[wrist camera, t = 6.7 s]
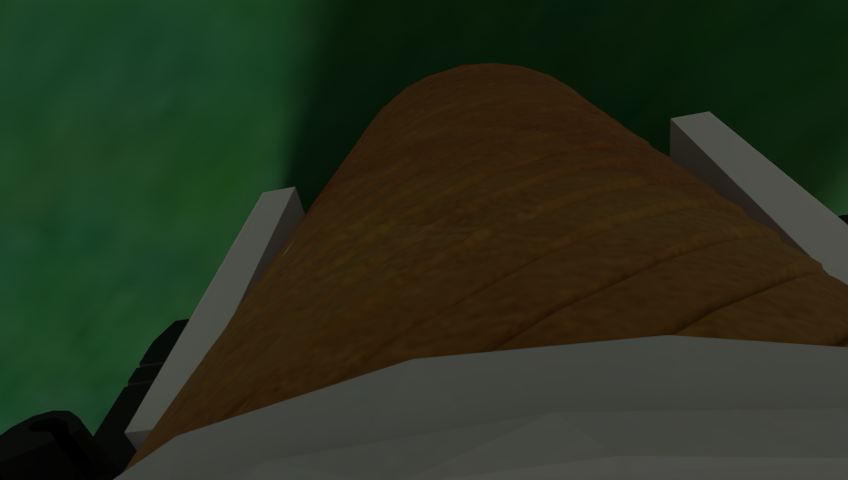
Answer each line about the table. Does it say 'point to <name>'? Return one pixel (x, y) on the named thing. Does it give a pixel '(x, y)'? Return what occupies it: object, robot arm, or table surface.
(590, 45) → the table surface
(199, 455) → the disposable coffee cup
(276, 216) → the robot arm
